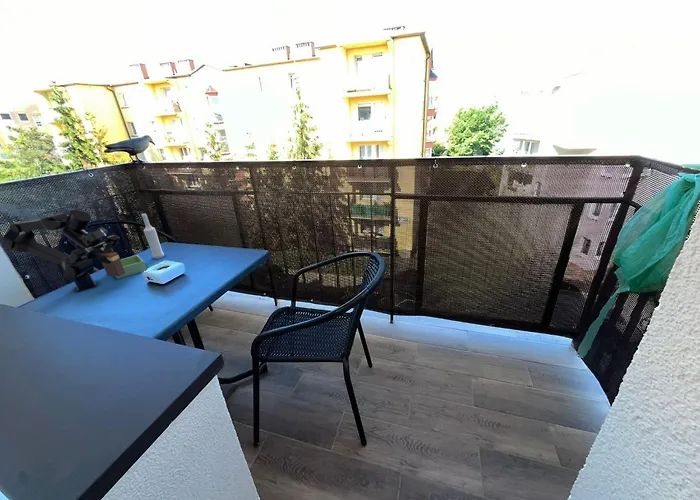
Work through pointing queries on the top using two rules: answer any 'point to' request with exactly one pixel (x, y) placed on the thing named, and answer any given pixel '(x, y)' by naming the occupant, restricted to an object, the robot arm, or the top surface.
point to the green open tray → (132, 266)
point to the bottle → (152, 239)
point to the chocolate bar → (113, 264)
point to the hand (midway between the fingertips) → (113, 261)
